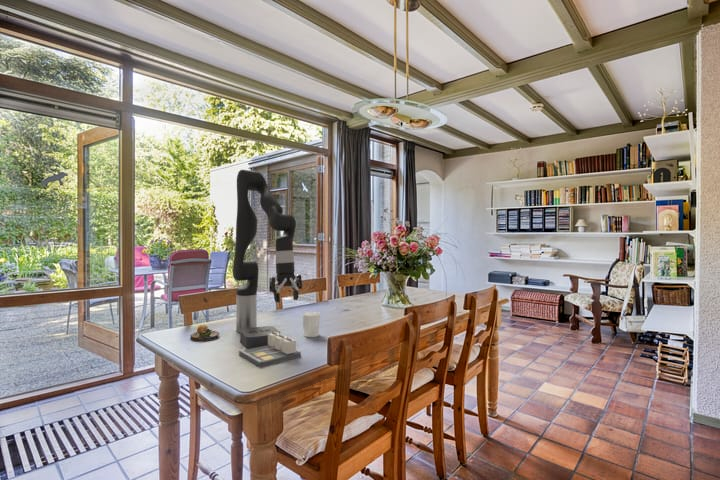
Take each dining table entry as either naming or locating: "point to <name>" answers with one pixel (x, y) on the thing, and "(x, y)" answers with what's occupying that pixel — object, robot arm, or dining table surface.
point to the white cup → (311, 324)
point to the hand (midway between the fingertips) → (286, 301)
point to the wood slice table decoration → (204, 334)
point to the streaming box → (256, 336)
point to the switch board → (266, 355)
